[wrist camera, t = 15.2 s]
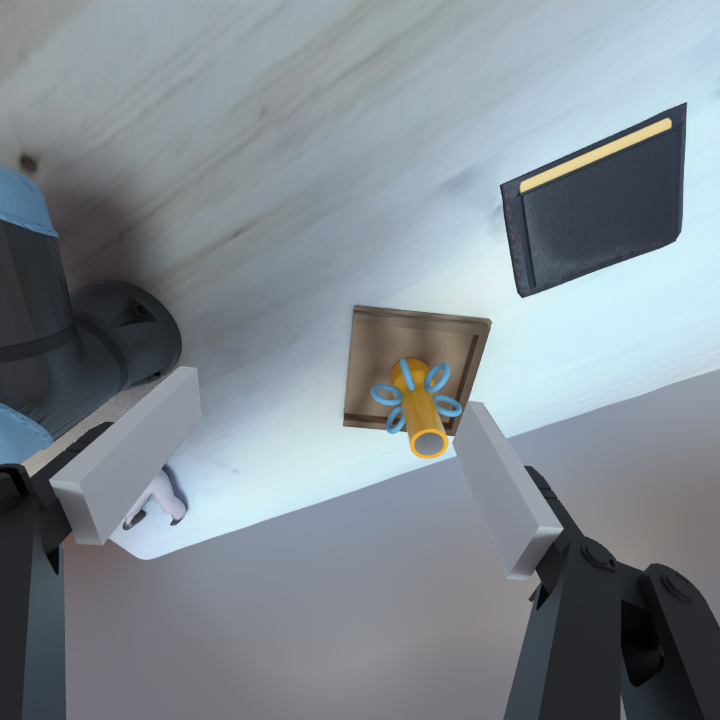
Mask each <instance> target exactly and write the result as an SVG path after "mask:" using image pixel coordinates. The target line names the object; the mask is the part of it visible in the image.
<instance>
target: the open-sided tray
mask: <svg viewBox="0 0 720 720" xmlns="http://www.w3.org/2000/svg"><path fill="white" fill-rule="evenodd" d="M491 324H492V321H491V320H489V319H484V318H474V317H465V316H455V315H445V314H435V313H425V312H415V311H406V310H396V309H386V308H376V307H366V306H357V305H355V306H354V316H353V327H352V337H351V348H350V359H349V369H348V380H347V390H346V401H345V411H344V422H343V426H346V427H357V428H369V429H380V430H387V429H386V423H387V419H388V417H389V415H390V414H391V412H392V411H393V410H394V409H395V408H396V407H397V406H399V405H401V404H398V405H393V406H390V405H384V404H382V403H379V402H378V401H376V400H375V399H374V398H373V397H372V395H371V389H372V387H374V386H375V385H378V384H386V385H390V386H391V380H390V374H391V371H392V369H393V367H394V366H395V365H396V364H397V363H398V362H399V361H400V359H401V358H404V359H407V358H416V359H419V360H421V361H423V362H424V363H425V364H426V365H427V366H428V367H429V369H430V370H431V369H432V368H433V367H434V366H436V365H437V364H439V363H446V364H448V365H449V367H450V375H449V378H448V380H447V382H446V383H445V385H444V386H443V387H442V388H441V389H439V390H438V391H436V392H435V394H434V395H445V396H448V397H450V398H452V399H454V400H456V401H457V402H458V403H459V404H460V405H461V407H462V412H461V414H460V415H458V416H455V417H450V416H445V415H443V414H440V413H438V414H439V416H440V419H441V422H442V425H443V427H444V430H445V433H446V435H448V436H455V434H456V432H457V429H458V426H459V423H460V421H461V418H462V415H463V412H464V410H465V407H466V404H467V401H468V399H469V396H470V393H471V390H472V386H473V383H474V380H475V377H476V374H477V370H478V367H479V364H480V361H481V357H482V354H483V351H484V348H485V344H486V341H487V338H488V335H489V332H490V327H491ZM443 372H444V369H441V370H439V371H438V372H437V373H436V374H435V375H434V376H433V379H434V382H435V384H437V383H438V381H439V380H440V379H441V377H442V375H443ZM377 394H378V395H380V396H381V397H383V398H386V399H395V398H394V396H393V393H392V392H390V391H387V390H378V391H377ZM436 403H437V404H438V405H439V406H440V407H442V408H444V409H447V410H451V411H454V410H456V409H455V407H454V406H453V405H451V404H450V403H448V402H445V401H440V400H438V401H436ZM401 416H402V411H400V412H399V413H398V414H397V415H396V416H395V418H394V420H393V422H392V428H393V427H395V426H396V425H397V424H398V422H399V421H400V419H401ZM399 431H403V432H407V428H406V423H405V424H404V426H403V427H402V428H401V429H400V430H399Z"/></svg>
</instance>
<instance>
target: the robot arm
mask: <svg viewBox="0 0 720 720" xmlns="http://www.w3.org/2000/svg"><path fill="white" fill-rule="evenodd" d="M57 238H59V237H58V233H57V232H56V231H55V230H54V228H53V225H52V222H51V219H50V216H49V213H48V209H47V206H46V202H45V199H44V196H43V194H42V192H41V191H40V189H39V188H38V187H37V186H36V184H35V183H34V182H32V181H31V180H30V179H29V178H27V177H26V176H24V175H23V174H21V173H18V172H16V171H14V170H11V169H8V168H5V167H1V166H0V720H66V687H65V617H64V616H65V614H64V549H63V547H62V544H61V542H62V541H63V540H64V539H65V538H66V537H67V536H68V535H69V534H70V532H71V531H72V534H73V536H74V538H75V540H76V543H79V544H93V545H103V544H104V543H105V542H106V540H107V539H108V538H109V537H110V535H111V534H112V533H113V531H114V530H115V529H116V527H117V526H118V525H119V524H120V522H121V521H122V520H123V518H124V517H125V516H126V514H127V513H128V512H129V510H130V509H131V508H132V507H133V505H134V504H135V503H136V501H137V500H138V499H139V497H140V496H141V495H142V493H143V492H144V491H145V490H146V488H147V487H148V486H149V484H150V483H151V482H152V480H153V479H154V478H155V476H156V475H157V474H158V473H159V471H160V470H161V469H162V467H163V466H164V465H165V463H166V462H167V461H168V459H169V458H170V457H171V456H172V454H173V453H174V452H175V450H176V449H177V448H178V446H179V445H180V444H181V442H182V441H183V440H184V439H185V437H186V436H187V435H188V433H189V432H190V431H191V429H192V428H193V427H194V425H195V424H196V423H197V422H198V420H199V419H200V418H201V416H202V408H201V399H200V390H199V381H198V372H197V368H194V367H186V366H179V367H178V368H177V369H176V370H175V371H174V372H173V373H171V374H170V375H169V376H168V377H167V378H166V379H165V380H163V381H162V382H161V383H160V384H159V385H158V386H156V387H155V388H154V389H153V390H152V391H151V392H150V393H148V394H147V395H146V396H145V397H144V398H143V399H142V400H140V401H139V402H138V403H137V404H136V405H135V406H133V407H132V408H131V409H130V410H129V411H128V412H127V413H125V414H124V415H123V416H122V417H121V418H120V419H118V420H117V421H116V422H104V423H102V424H100V425H98V426H96V427H94V428H92V429H90V430H89V431H87V432H86V433H85V434H84V435H82V436H81V437H80V438H79V439H78V440H77V441H76V443H75V442H74V443H73V444H71V445H70V446H69V447H68V448H66V451H63V452H62V453H60V454H59V455H58V456H57V457H55V458H54V459H53V460H52V461H50V462H49V463H48V464H47V465H46V466H44V467H43V468H42V469H41V470H39V471H38V472H37V473H36V474H34V475H33V476H32V477H31V478H30V477H29V475H28V473H27V471H26V469H25V467H24V466H22V465H20V463H22V462H24V461H25V460H27V459H28V458H30V457H31V456H33V455H34V454H36V453H37V452H39V451H40V450H44V449H46V448H47V447H49V446H50V445H51V444H52V443H53V442H55V441H56V440H57V439H59V438H60V437H61V436H63V435H64V434H65V433H66V432H68V431H69V430H70V429H72V428H73V427H74V426H76V425H77V424H78V423H79V422H81V421H82V420H83V419H85V418H86V417H87V416H89V415H90V414H91V413H93V412H94V411H95V410H96V409H98V408H99V407H100V406H102V405H103V404H104V403H106V402H107V401H108V400H109V399H111V398H112V397H113V396H115V395H116V394H118V393H119V392H121V391H124V390H127V389H131V388H134V387H137V386H141V385H144V384H148V383H151V382H153V381H155V380H157V379H159V378H161V377H162V376H163V375H164V374H166V373H167V372H168V371H169V370H171V369H172V368H173V367H174V365H175V364H176V363H177V361H178V359H179V356H180V352H181V339H180V334H179V331H178V328H177V326H176V324H175V322H174V320H173V318H172V317H171V315H170V314H169V313H168V311H167V310H166V309H165V308H164V307H163V306H162V305H161V304H160V303H159V302H158V301H157V300H156V299H155V298H154V297H152V296H151V295H149V294H148V293H146V292H145V291H143V290H141V289H139V288H137V287H135V286H133V285H130V284H127V283H123V282H119V281H99V282H95V283H91V284H88V285H84V286H81V287H79V288H77V289H75V290H73V291H71V292H70V293H68V288H67V284H66V279H65V275H64V270H63V266H62V261H61V256H60V252H59V247H58V243H57ZM452 444H453V446H454V449H455V451H456V454H457V456H458V459H459V461H460V463H461V466H462V468H463V471H464V473H465V476H466V478H467V481H468V483H469V486H470V488H471V491H472V493H473V496H474V498H475V501H476V503H477V505H478V508H479V511H480V513H481V516H482V518H483V521H484V523H485V525H486V528H487V530H488V533H489V535H490V538H491V540H492V543H493V545H494V548H495V550H496V553H497V555H498V558H499V560H500V563H501V565H502V568H503V570H504V573H505V575H506V578H510V579H522V580H529V578H530V577H531V575H532V574H533V572H534V571H535V569H536V571H537V573H538V575H539V578H540V580H541V583H540V584H539V585H538V587H537V588H536V589H535V591H534V592H533V594H532V595H531V597H530V598H529V601H531V602H532V601H533V600H534V602H533V606H532V610H531V615H530V618H529V622H528V626H527V630H526V634H525V637H524V641H523V645H522V649H521V653H520V657H519V661H518V665H517V668H516V672H515V676H514V680H513V684H512V688H511V692H510V696H509V700H508V704H507V707H506V711H505V715H504V719H503V720H620V696H622V700H623V704H624V709H625V714H626V718H627V720H720V627H719V625H718V623H717V621H716V619H715V617H714V615H713V613H712V612H711V610H710V608H709V606H708V604H707V602H706V600H705V599H704V597H703V596H702V594H701V593H700V591H699V590H698V589H697V588H696V587H695V586H694V585H693V584H692V583H691V582H690V581H689V580H687V579H686V578H685V577H684V576H682V575H681V574H679V573H678V572H676V571H675V570H673V569H671V568H669V567H668V566H664V565H661V564H650V565H649V567H648V568H647V569H646V570H645V571H641V570H639V569H636V568H633V567H631V566H628V565H626V564H623V563H620V562H618V561H616V559H615V557H614V556H613V555H612V554H611V553H610V552H609V551H608V550H607V549H606V548H605V547H604V546H602V545H601V544H599V543H598V542H596V541H594V540H593V539H590V538H588V537H585V536H584V535H583V534H582V532H581V531H580V529H579V528H578V526H577V525H576V524H575V522H574V521H573V519H572V518H571V516H570V515H569V513H568V512H567V511H566V509H565V508H564V507H563V505H562V503H561V502H560V500H558V499H557V496H556V495H555V494H554V492H553V491H551V487H550V486H549V485H548V483H547V482H546V480H545V479H544V477H543V476H542V475H540V474H539V473H538V472H537V471H536V470H535V469H534V468H533V467H531V466H523V465H522V463H521V461H520V460H519V458H518V457H517V455H516V454H515V452H514V451H513V449H512V448H511V446H510V445H509V443H508V441H507V440H506V438H505V437H504V435H503V434H502V432H501V430H500V429H499V427H498V426H497V424H496V423H495V421H494V420H493V418H492V416H491V415H490V413H489V412H488V410H487V409H486V407H485V406H484V404H483V403H482V402H474V401H467V404H466V407H465V410H464V412H463V415H462V418H461V421H460V423H459V426H458V429H457V432H456V434H455V437H454V440H453V443H452Z"/></svg>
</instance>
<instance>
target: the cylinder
mask: <svg viewBox="0 0 720 720" xmlns="http://www.w3.org/2000/svg"><path fill="white" fill-rule="evenodd" d="M441 369H444V372H443V375H442V377H441V379H440V380H439V381H438V383H437V384H435V382H434V379H433V376H434V375H435V374H436V373H437V372H438V371H439V370H441ZM449 375H450V367H449V365H448V364H446V363H439V364H437V365H436V366H434V367H433V368H432V369H431V370H430V369H429V367H428V366H427V365H426V364H425V363H424V362H423V361H421V360H419V359H416V358H407V359H404V358H401V359H400V361H399V362H398V363H397V364H396V365H395V366H394V367H393V369H392V371H391V374H390V380H391V386H390V385H386V384H378V385H375V386H374V387H372V389H371V395H372V397H373V398H374V399H375V400H376V401H378V402H379V403H382V404H384V405H390V406H393V405H398V404H401V405H399V406H397V407H396V408H395V409H394V410H393V411H392V412H391V414H390V415H389V417H388V419H387V423H386V429H387V432H388V433H390V434H394V433H397V432H398V431H399V430H400V429H401V428H402V427H403V426H404V424H405V423H406V428H407V433H408V438H409V443H410V448H411V451H412V452H413V453H414V454H415V455H416V456H418V457H421V458H435V457H437V456H439V455H441V454H442V453H444V452H445V450H446V449H447V447H448V438H447V435H446V433H445V430H444V427H443V425H442V422H441V419H440V416H439V414H438V413H440V414H443V415H445V416H450V417H455V416H458V415H460V414H461V412H462V407H461V405H460V404H459V403H458V402H457V401H456V400H454V399H452V398H450V397H448V396H445V395H434V394H435V392H436V391H438V390H439V389H441V388H442V387H443V386H444V385H445V383H446V382H447V380H448V378H449ZM378 390H387V391H390V392H392V393H393V396H394V398H395V399H386V398H383V397H381V396H380V395H378V394H377V391H378ZM438 400H440V401H445V402H448V403H450V404H451V405H453V406H454V407H455V409H456V410H454V411H451V410H447V409H444V408H442V407H440V406H439V405H438V404H437V403H436V401H438ZM400 411H402V416H401V419H400V421H399V422H398V424H397V425H396V426H395V427H393V428H392V422H393V420H394V418H395V416H396V415H397V414H398V413H399V412H400Z"/></svg>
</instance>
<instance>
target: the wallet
mask: <svg viewBox="0 0 720 720" xmlns="http://www.w3.org/2000/svg"><path fill="white" fill-rule="evenodd" d="M686 111H687V102H686V103H684V104H681V105H679V106H676V107H674V108H671V109H668V110H666V111H664V112H662V113H659V114H657V115H655V116H653V117H651V118H649V119H647V120H645V121H643V122H641V123H639V124H637V125H634V126H632V127H630V128H628V129H625V130H623V131H621V132H619V133H616V134H614V135H612V136H610V137H607V138H605V139H603V140H601V141H598V142H596V143H594V144H592V145H589V146H587V147H585V148H583V149H580V150H578V151H576V152H574V153H571V154H569V155H567V156H565V157H562V158H560V159H558V160H555V161H553V162H551V163H549V164H546V165H544V166H542V167H540V168H537V169H535V170H533V171H531V172H528V173H526V174H524V175H522V176H519V177H517V178H515V179H513V180H510V181H508V182H506V183H504V184H501V185H500V189H501V194H502V200H503V211H504V219H505V225H506V231H507V237H508V243H509V249H510V255H511V261H512V266H513V272H514V278H515V283H516V288H517V292H518V294H519V295H520V296H521V297H522V298H524V297H527V296H530V295H533V294H536V293H539V292H542V291H545V290H547V289H550V288H553V287H555V286H558V285H561V284H563V283H566V282H568V281H571V280H574V279H576V278H579V277H581V276H584V275H587V274H589V273H592V272H594V271H597V270H600V269H603V268H605V267H608V266H611V265H614V264H617V263H620V262H622V261H625V260H628V259H631V258H634V257H636V256H639V255H642V254H645V253H648V252H651V251H654V250H657V249H660V248H662V247H664V246H666V245H669V244H671V243H673V242H675V241H676V239H677V237H678V236H679V234H680V232H681V228H682V217H683V181H684V160H685V142H686Z"/></svg>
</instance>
